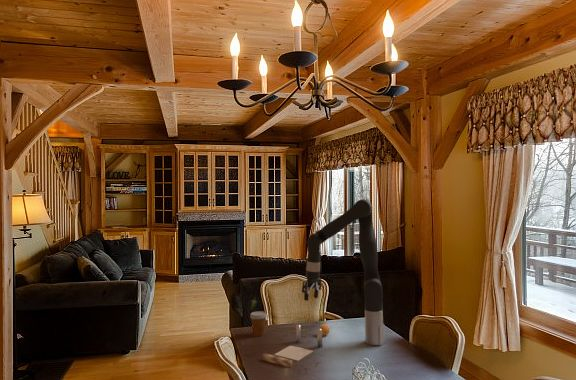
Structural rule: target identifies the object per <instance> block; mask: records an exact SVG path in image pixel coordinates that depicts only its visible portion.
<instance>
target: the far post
mask: <svg viewBox="0 0 576 380" xmlns="http://www.w3.org/2000/svg"><path fill="white" fill-rule="evenodd" d="M301 326H302V325H301V324H300V323H297V324H295V342H296V343H297V344H300V343H301V342H302V331H301Z"/></svg>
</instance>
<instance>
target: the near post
mask: <svg viewBox="0 0 576 380" xmlns="http://www.w3.org/2000/svg"><path fill="white" fill-rule="evenodd" d="M316 344H317V345H316V347H317V348H318V349H320V348H321V349H322V348H323V335H322V329H321V328H319V327H318V328H316Z"/></svg>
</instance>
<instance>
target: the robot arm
mask: <svg viewBox="0 0 576 380" xmlns="http://www.w3.org/2000/svg"><path fill="white" fill-rule="evenodd" d="M357 220H358V229H359V230H358V249H359V255H360V260H361V263H362V265H363V276H364V281H363V283H364V285H363V289H364V291H363V292H364V293H363V294H364V329H365V330H364V331H365V332H364V333H365V336H364V338H365V343H366V344H367V345H370V346H382V345H384V343H386V335H385V334H386V333H385V332H386V331H385V326H386V325H385V323H384V315H383V313H384V312H383V310H384V309H383V308H384V307H383V303H384V302H383V301H384V300H383V299H384V295H383V292H384V291H383V290H384V289H383V285H382V282H381V279H380V273H379V269H378V264H379V262H378V260H379V255H378V244H377V237H376V233H375V228H374V222H373V220H374V219H373V205H372V203H371V201H369V199H365V198H364V199H359V200H357V201H355V203H354V204H353V205H352V206H351V207H350V208H349V209H348V210H346V211H345V212H344V213H343V214H341V215H340V216H338V217H336V218H334V219H333V220H331V221H330V222H328V223H326V225H324V226H323V227H322V228H321V229H319V230H317V231H316V232H314V233H312V234H310V235H309V236H308V238H307V261H306V268H305V278H306V281H302V287H301V293H303V294H304V295H303V296H304V297H303V300H304V301H307V302H308V301H309V293H310V292H311V291H312V289H314V292H313V298H314V299H318V297H319V291H321V290H322V280H323V279H321V278H320V273H321V257H322V255H321V251H320V247H321V245H322V244H323V243H325V242H326V241H327V240H329V239H330V238H332V237H334V236H335V235H336V234H338V233H339V232H341V231H342V230H344V229H345V228H346V227H347V226H349V225H351V224H352V223H353V222H355V221H357Z"/></svg>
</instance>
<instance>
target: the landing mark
mask: <svg viewBox="0 0 576 380" xmlns="http://www.w3.org/2000/svg"><path fill="white" fill-rule="evenodd" d="M313 352H314V350H311V349H307V348H303V347H299V346H296V345H295V346H294V345H289V346H287V347H285V348H283V349H282V350H280V351H278V352H276V353H274V354H273V355H274V356H278V357H282V358H286V359H290V360H293V361H297V362H299V361H301V360H302V359H303V358H305V357H307V356H309V355H310V354H311V353H313Z"/></svg>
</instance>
